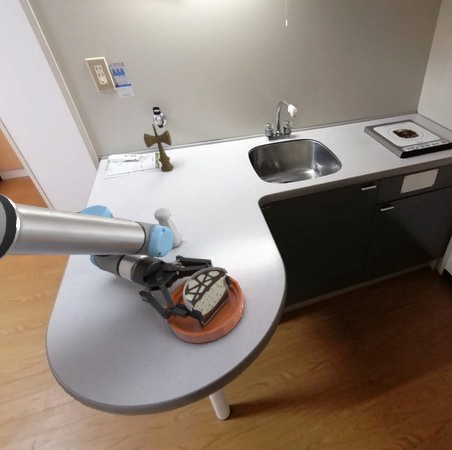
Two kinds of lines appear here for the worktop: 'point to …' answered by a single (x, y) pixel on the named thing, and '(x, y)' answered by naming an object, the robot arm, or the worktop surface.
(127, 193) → the worktop surface
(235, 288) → the bowl
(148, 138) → the kendama
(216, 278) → the food container
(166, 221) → the salt shaker
